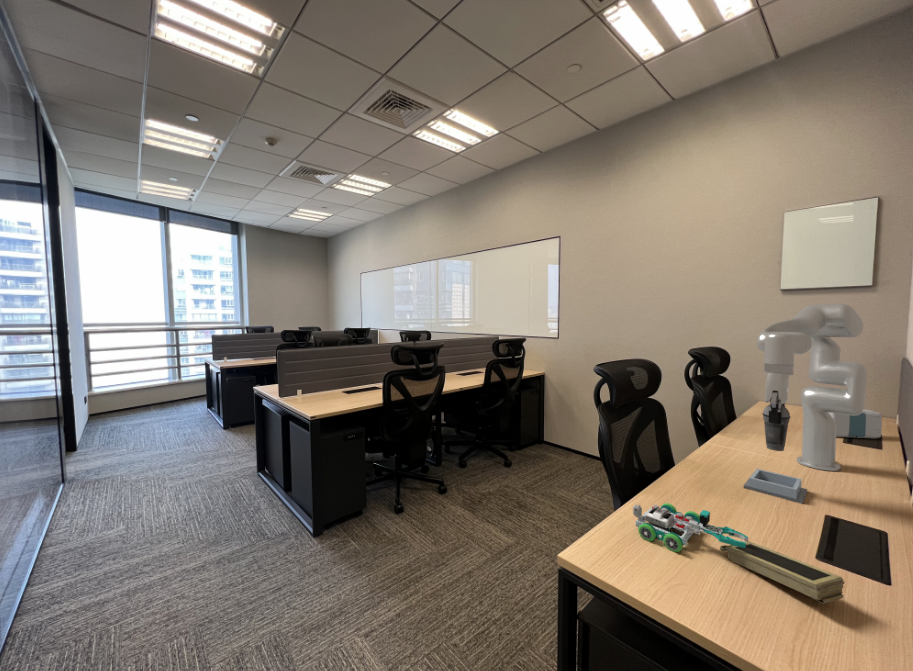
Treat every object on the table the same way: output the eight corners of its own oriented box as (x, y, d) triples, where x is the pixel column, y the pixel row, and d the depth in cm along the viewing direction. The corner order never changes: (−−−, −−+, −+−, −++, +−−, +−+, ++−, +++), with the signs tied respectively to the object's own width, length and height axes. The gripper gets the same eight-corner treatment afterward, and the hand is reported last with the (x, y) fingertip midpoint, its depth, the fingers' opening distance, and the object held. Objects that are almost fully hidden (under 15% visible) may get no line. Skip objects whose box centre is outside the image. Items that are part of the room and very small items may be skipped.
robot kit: (739, 581, 83) (740, 540, 82) (626, 534, 101) (627, 500, 101) (755, 547, 95) (756, 511, 95) (652, 510, 114) (653, 480, 113)
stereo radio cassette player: (832, 438, 181) (834, 397, 180) (819, 433, 189) (820, 394, 189) (882, 440, 178) (884, 399, 177) (866, 434, 186) (868, 395, 185)
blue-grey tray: (751, 478, 136) (751, 467, 136) (807, 492, 124) (807, 480, 124) (743, 487, 128) (744, 476, 128) (802, 503, 117) (803, 491, 116)
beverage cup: (782, 446, 128) (784, 389, 127) (794, 453, 121) (796, 393, 120) (757, 444, 130) (759, 388, 129) (767, 451, 124) (768, 392, 123)
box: (823, 612, 71) (819, 585, 72) (712, 561, 93) (710, 540, 93) (850, 603, 74) (846, 577, 75) (736, 555, 95) (734, 535, 96)
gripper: (769, 366, 133) (767, 414, 134) (758, 370, 122) (757, 423, 122) (797, 368, 127) (795, 418, 128) (789, 372, 116) (787, 428, 117)
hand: (776, 420), depth 125 cm, fingers closed on beverage cup, 7 cm apart
